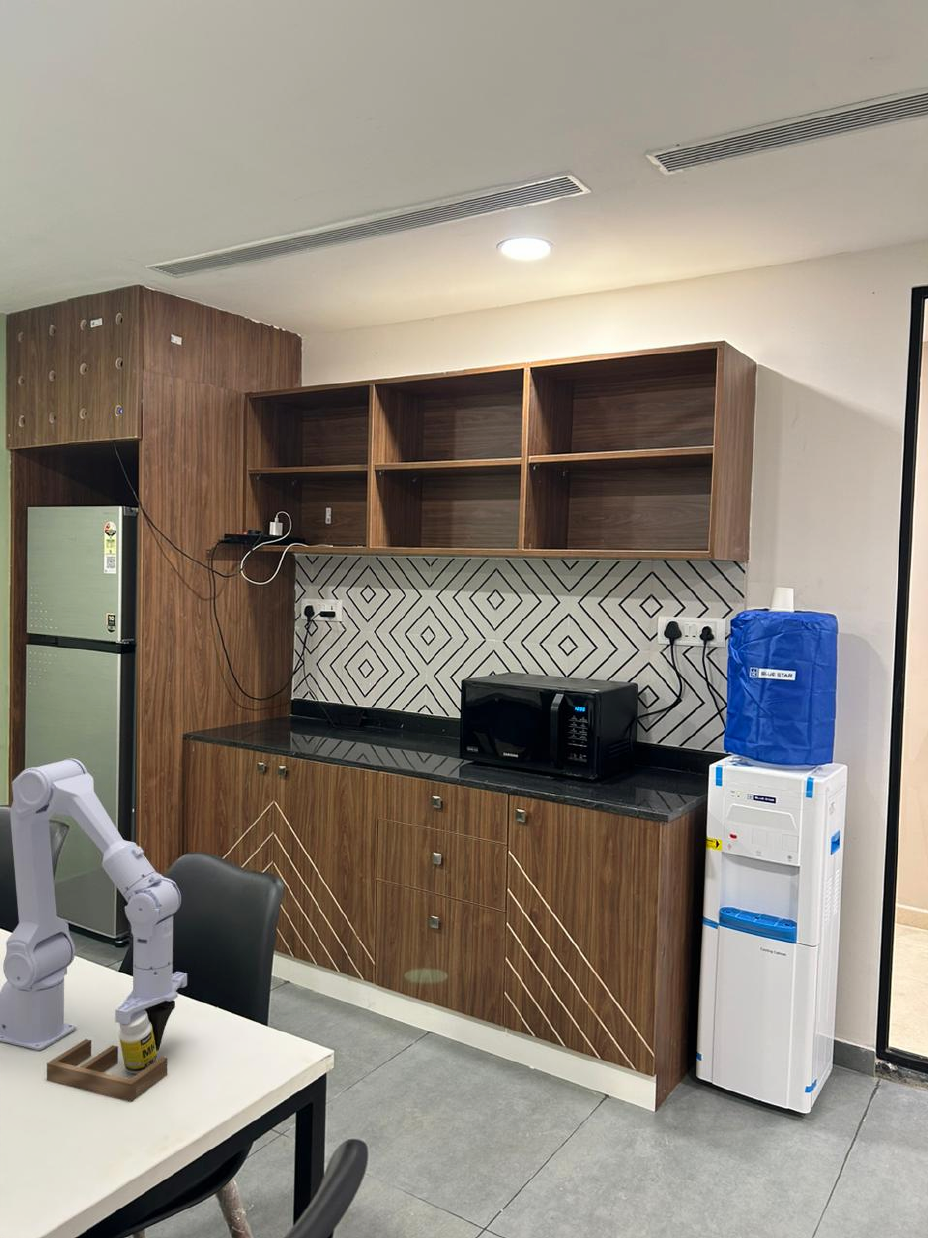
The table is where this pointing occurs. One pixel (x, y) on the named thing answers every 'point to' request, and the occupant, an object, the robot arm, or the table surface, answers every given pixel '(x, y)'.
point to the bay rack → (93, 1076)
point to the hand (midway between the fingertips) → (152, 1050)
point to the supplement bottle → (137, 1043)
